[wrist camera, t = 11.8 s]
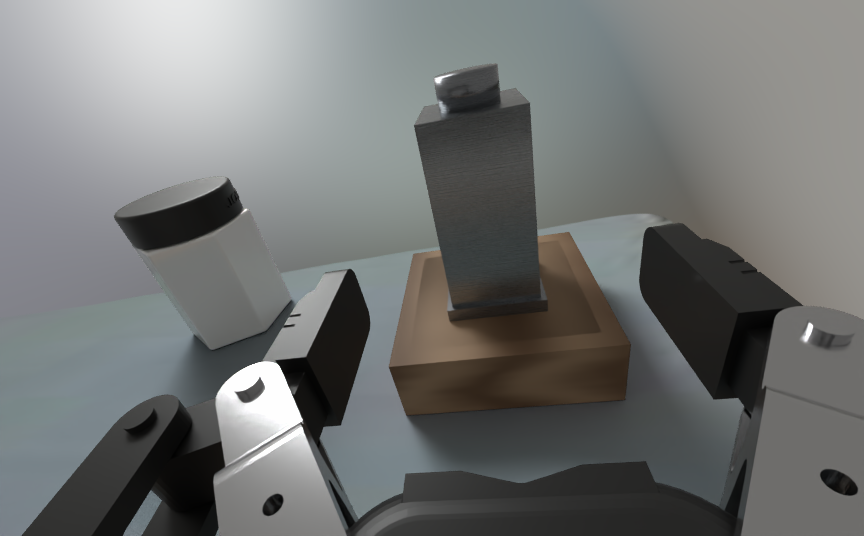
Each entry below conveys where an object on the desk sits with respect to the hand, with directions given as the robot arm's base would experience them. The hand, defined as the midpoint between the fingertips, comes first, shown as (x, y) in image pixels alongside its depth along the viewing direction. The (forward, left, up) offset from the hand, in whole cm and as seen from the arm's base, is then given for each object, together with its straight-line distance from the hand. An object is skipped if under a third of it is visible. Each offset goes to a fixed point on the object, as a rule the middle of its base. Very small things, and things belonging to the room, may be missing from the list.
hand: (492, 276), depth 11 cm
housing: (0, +11, -8) cm, 13 cm away
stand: (0, +11, -12) cm, 16 cm away
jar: (-23, +17, -12) cm, 31 cm away
